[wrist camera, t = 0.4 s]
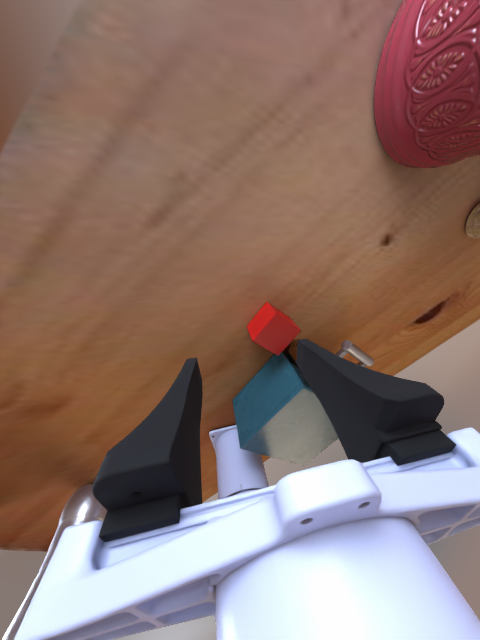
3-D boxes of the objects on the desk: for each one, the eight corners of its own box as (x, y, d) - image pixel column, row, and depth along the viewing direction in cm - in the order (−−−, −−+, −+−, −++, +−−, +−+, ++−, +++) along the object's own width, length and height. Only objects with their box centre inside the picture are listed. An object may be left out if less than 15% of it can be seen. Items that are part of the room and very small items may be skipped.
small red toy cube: (266, 301, 23) (275, 313, 20) (289, 317, 24) (301, 330, 21) (246, 326, 24) (252, 341, 21) (269, 340, 26) (278, 356, 23)
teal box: (279, 347, 26) (303, 387, 20) (331, 378, 31) (363, 418, 25) (232, 400, 29) (240, 448, 23) (285, 420, 34) (303, 466, 28)
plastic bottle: (74, 477, 31) (-94, 806, 14) (120, 477, 33) (26, 764, 16) (72, 498, 34) (-71, 800, 16) (115, 497, 36) (30, 763, 18)
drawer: (318, 316, 24) (348, 340, 19) (363, 350, 28) (397, 378, 23) (246, 394, 28) (255, 430, 23) (294, 414, 32) (311, 449, 27)
